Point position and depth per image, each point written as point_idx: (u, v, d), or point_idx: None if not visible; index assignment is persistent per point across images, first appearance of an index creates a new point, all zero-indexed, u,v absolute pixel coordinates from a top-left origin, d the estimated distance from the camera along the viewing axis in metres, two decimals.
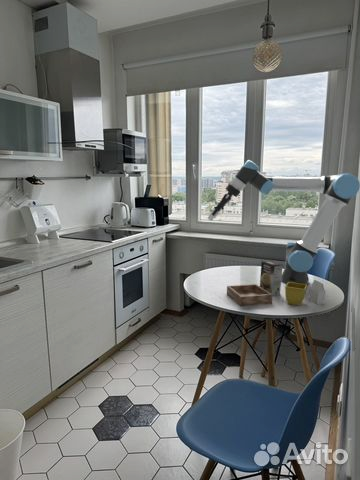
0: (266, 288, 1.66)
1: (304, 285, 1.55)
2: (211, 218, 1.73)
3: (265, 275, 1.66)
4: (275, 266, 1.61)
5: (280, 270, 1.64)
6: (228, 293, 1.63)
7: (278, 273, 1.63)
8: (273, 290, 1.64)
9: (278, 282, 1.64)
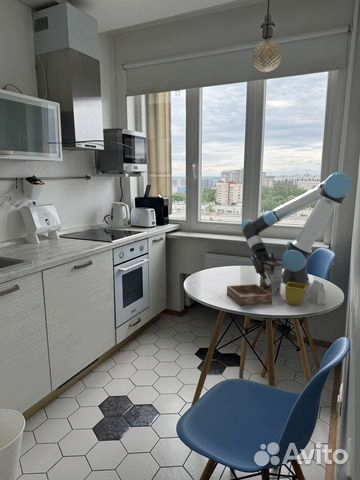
0: (266, 288, 1.66)
1: (304, 285, 1.55)
2: (268, 281, 1.63)
3: None
4: (275, 266, 1.61)
5: (280, 270, 1.64)
6: (228, 293, 1.63)
7: (278, 273, 1.63)
8: (273, 290, 1.64)
9: (278, 282, 1.64)
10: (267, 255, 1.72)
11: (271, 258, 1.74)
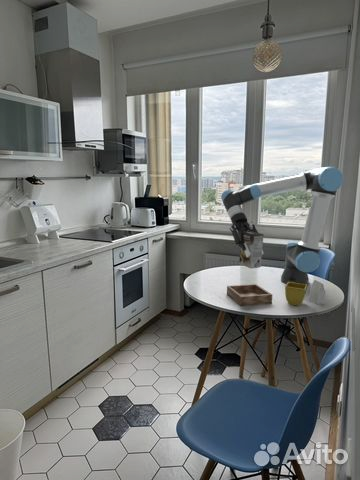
0: (245, 260, 1.54)
1: (304, 285, 1.55)
2: (247, 252, 1.51)
3: None
4: (255, 236, 1.49)
5: (261, 241, 1.51)
6: (228, 293, 1.63)
7: (258, 244, 1.51)
8: (253, 262, 1.51)
9: (258, 253, 1.52)
10: (248, 226, 1.60)
11: (252, 229, 1.62)
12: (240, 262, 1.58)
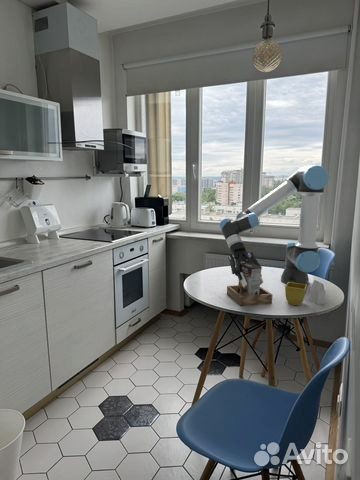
0: (244, 292, 1.57)
1: (304, 285, 1.55)
2: (244, 282, 1.53)
3: None
4: (252, 269, 1.52)
5: (258, 273, 1.54)
6: (228, 293, 1.63)
7: (256, 276, 1.53)
8: (250, 294, 1.54)
9: (256, 285, 1.54)
10: (246, 255, 1.62)
11: (251, 258, 1.64)
12: (239, 293, 1.61)
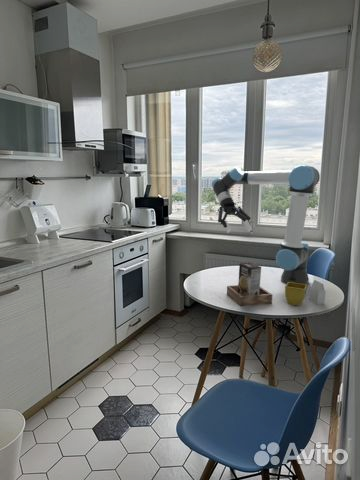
0: (244, 292, 1.57)
1: (304, 285, 1.55)
2: (228, 229, 1.74)
3: (243, 278, 1.57)
4: (252, 269, 1.52)
5: (258, 274, 1.54)
6: (228, 293, 1.63)
7: (256, 277, 1.53)
8: (250, 294, 1.54)
9: (256, 285, 1.54)
10: (235, 208, 1.83)
11: (239, 211, 1.86)
12: (239, 293, 1.61)
